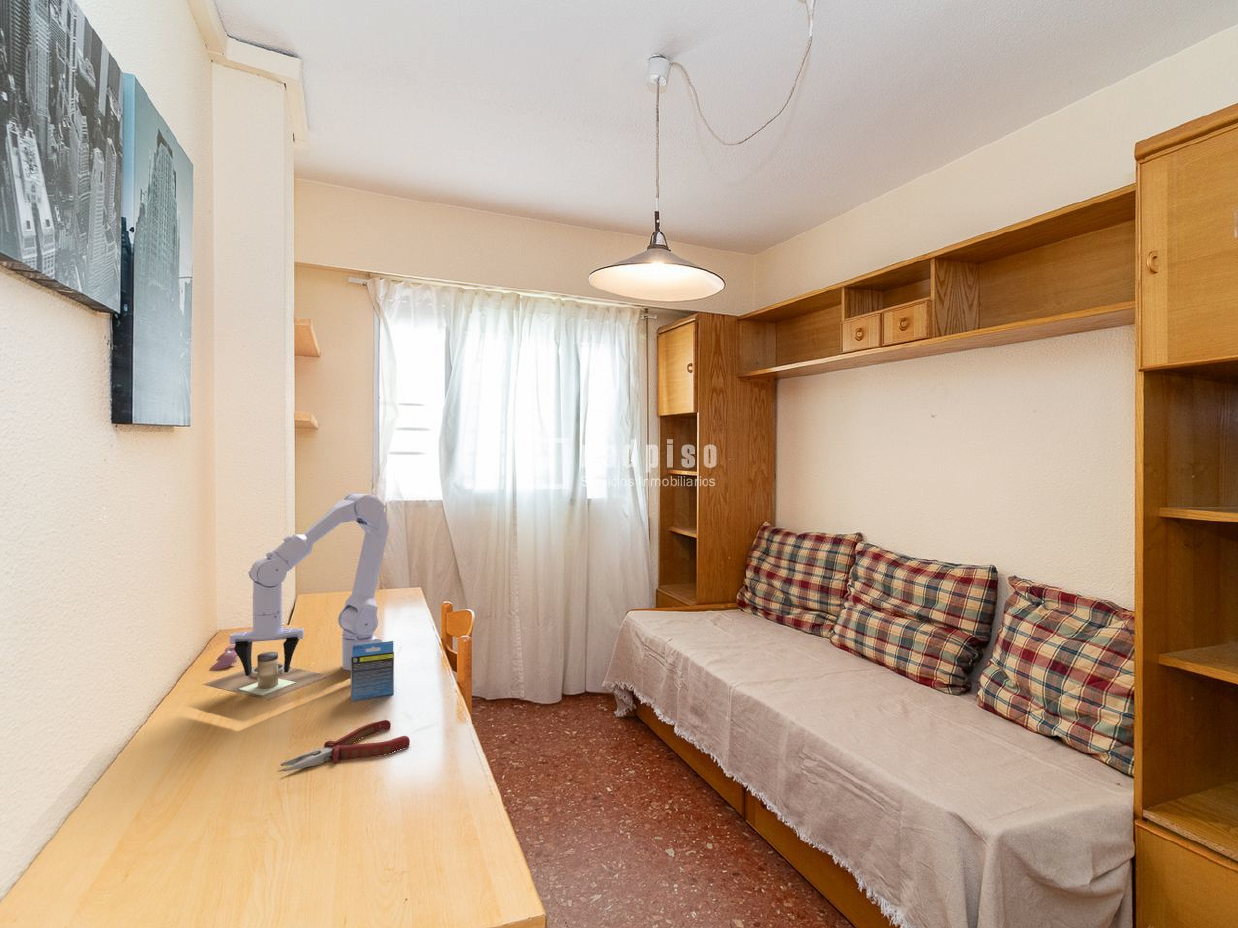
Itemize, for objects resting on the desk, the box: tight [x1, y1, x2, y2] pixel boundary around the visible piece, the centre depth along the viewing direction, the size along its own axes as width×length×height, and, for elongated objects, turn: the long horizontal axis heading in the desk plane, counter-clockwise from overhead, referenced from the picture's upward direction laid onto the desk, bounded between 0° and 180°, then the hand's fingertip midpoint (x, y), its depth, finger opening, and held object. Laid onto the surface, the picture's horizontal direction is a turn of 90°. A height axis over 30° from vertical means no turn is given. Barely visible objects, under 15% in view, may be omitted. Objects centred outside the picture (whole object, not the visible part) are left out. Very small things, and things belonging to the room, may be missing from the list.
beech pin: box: [256, 651, 279, 689], centre depth 137 cm, size 4×4×7 cm
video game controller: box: [208, 644, 239, 671], centre depth 153 cm, size 10×5×7 cm, turn 23°
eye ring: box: [251, 662, 284, 679], centre depth 146 cm, size 7×7×1 cm
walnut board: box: [202, 665, 332, 701], centre depth 142 cm, size 22×16×2 cm
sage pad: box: [239, 678, 296, 696], centre depth 137 cm, size 8×8×1 cm
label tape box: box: [350, 640, 395, 702], centre depth 137 cm, size 9×4×12 cm, turn 115°
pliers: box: [280, 719, 411, 772], centre depth 110 cm, size 12×20×3 cm, turn 131°
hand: (267, 672), depth 137 cm, fingers open, 7 cm apart
